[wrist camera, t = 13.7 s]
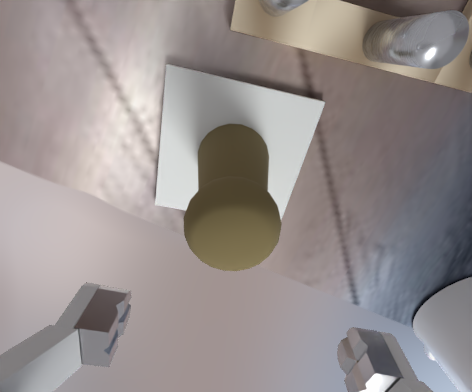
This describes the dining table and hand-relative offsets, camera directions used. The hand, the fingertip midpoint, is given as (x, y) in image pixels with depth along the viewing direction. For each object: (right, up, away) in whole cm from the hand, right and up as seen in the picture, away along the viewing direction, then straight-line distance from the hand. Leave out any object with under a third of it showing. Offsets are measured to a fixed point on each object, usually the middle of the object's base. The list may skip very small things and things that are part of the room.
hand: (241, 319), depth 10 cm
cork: (0, +8, +13) cm, 15 cm away
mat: (-1, +8, +13) cm, 15 cm away
